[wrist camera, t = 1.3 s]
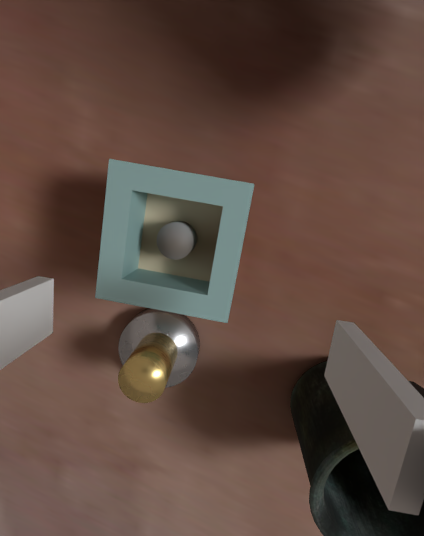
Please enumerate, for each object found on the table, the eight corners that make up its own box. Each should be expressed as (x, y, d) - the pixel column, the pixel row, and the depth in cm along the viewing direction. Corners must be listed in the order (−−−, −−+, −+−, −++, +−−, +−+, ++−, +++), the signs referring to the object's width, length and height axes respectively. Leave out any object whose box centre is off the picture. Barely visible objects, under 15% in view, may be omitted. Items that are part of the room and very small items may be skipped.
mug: (281, 355, 33) (306, 437, 22) (430, 345, 32) (543, 428, 20) (288, 446, 35) (313, 567, 24) (428, 441, 34) (529, 567, 22)
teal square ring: (128, 165, 26) (109, 158, 22) (251, 187, 25) (254, 183, 21) (115, 284, 28) (95, 297, 24) (228, 306, 27) (227, 323, 23)
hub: (129, 300, 33) (99, 327, 26) (205, 314, 33) (196, 346, 26) (121, 369, 35) (90, 413, 28) (193, 383, 35) (181, 432, 27)
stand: (152, 181, 31) (127, 174, 24) (239, 196, 30) (240, 194, 23) (142, 266, 32) (114, 284, 25) (223, 281, 32) (219, 304, 25)
